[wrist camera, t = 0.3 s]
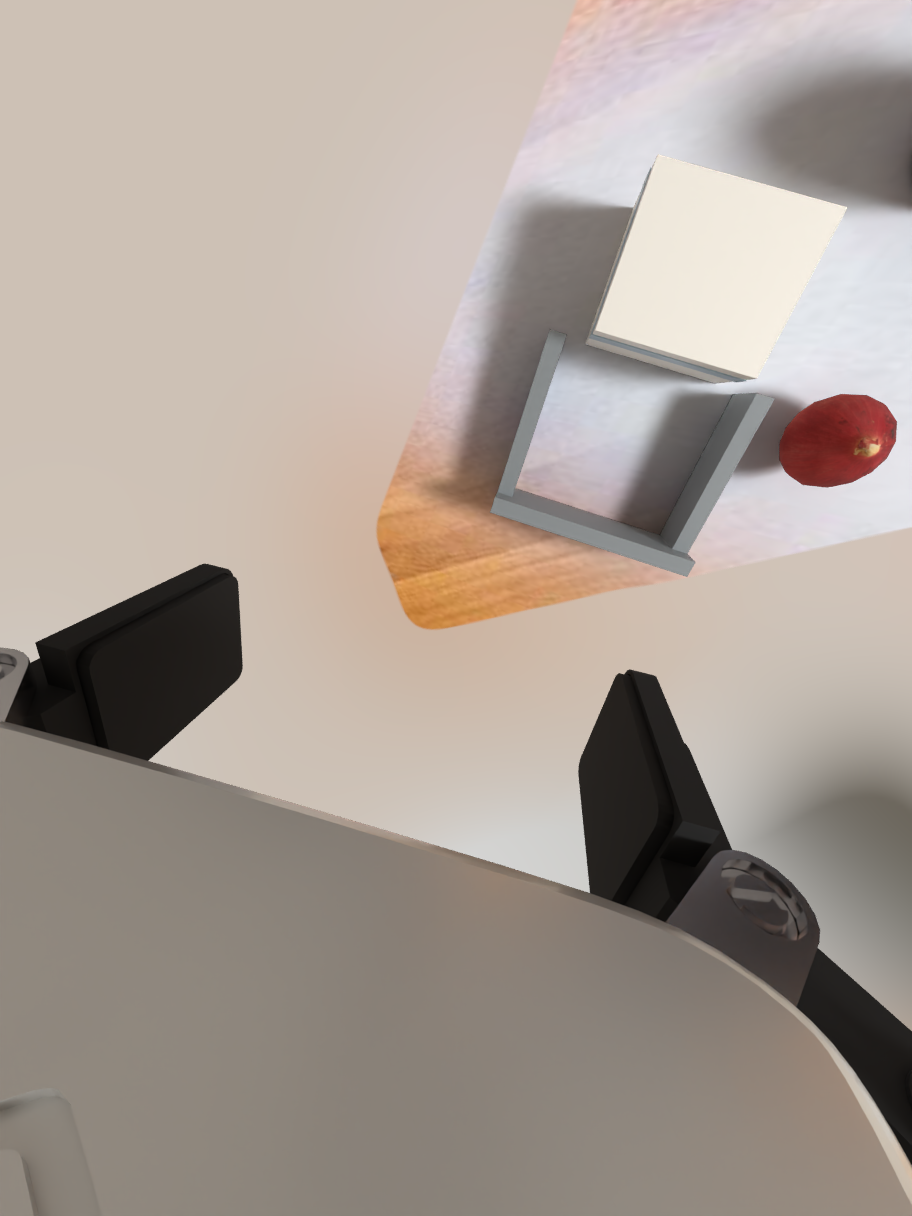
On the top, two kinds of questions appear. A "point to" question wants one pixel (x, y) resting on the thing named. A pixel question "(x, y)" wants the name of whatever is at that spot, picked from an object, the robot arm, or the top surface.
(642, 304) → the carton
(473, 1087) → the robot arm
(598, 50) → the top surface
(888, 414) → the onion
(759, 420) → the bay
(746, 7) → the top surface
